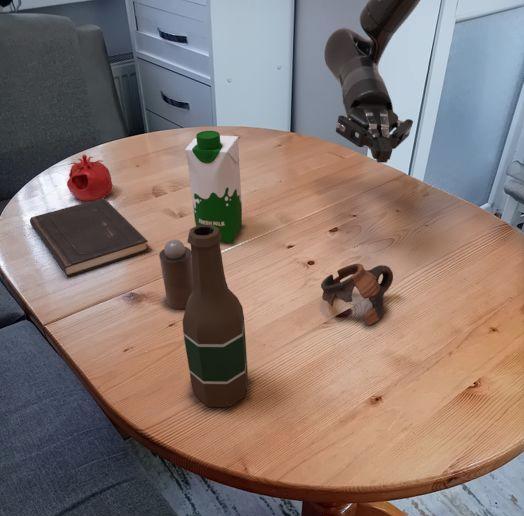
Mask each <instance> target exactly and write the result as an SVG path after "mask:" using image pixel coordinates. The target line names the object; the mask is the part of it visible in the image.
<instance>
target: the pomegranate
mask: <svg viewBox="0 0 524 516" xmlns="http://www.w3.org/2000/svg"><path fill="white" fill-rule="evenodd" d="M91 159H94V156H88V157H87V154H82V156H81V158H78V159H77V160H78V161H80V162H71V163H68V164H67V165H72V166H71V168H70V170H69V171H70V172H69V174H68V177H69V178H68V180H67V181H66V186H67V188H68V190H69V192H70V193H71V194H72V196H73V197H75V198H76V199H78V200H81V201H84V202H89V201H93V200H97V199H100V198H105V197H108V196H109V195H110V194H111V193H112V191H113V180H112V176H111V172H110V169H109V168H108V167H107V166H106V165H105V164H104V163H101V162H102V160H100V159H99V160H95V161H91Z"/></svg>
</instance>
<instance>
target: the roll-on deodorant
mask: <svg viewBox="0 0 524 516" xmlns="http://www.w3.org/2000/svg"><path fill="white" fill-rule="evenodd" d="M158 256H159V257H158V258H159V262H160V268H161V269H160V270H161V274H162V279H163V285H164V292H165V297H166V303H167V306H169V307H170V308H171V309H173V310H179V311H182V310H185V309H186V305H187V302H188V298H189V296H190V294H191V293H192V291H193V272H192V256H191V248H189V247H187V246H185V245H184V243H183V242H182V241H180V240H179V239H170V240H169V241H167V242H166V244H165V245H164V248H163V249H162V250H161V251H160V252H159V254H158Z"/></svg>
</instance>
